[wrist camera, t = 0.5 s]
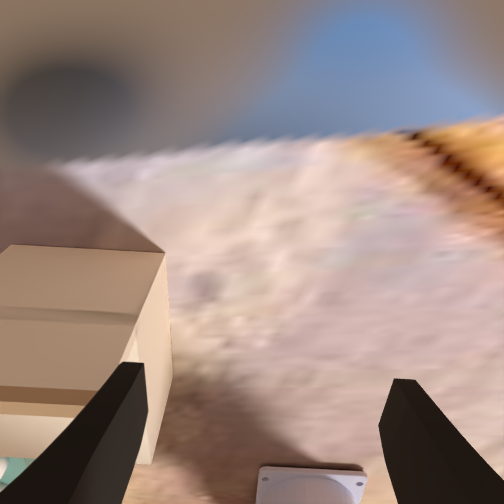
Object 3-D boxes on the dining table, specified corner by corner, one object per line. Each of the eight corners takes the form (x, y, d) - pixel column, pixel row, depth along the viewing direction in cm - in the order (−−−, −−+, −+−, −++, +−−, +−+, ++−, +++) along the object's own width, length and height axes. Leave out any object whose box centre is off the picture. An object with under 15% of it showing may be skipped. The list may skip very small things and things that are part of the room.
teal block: (66, 467, 31) (40, 527, 27) (8, 464, 31) (-26, 523, 27) (42, 390, 26) (7, 448, 23) (-26, 387, 26) (-72, 445, 23)
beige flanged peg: (173, 376, 25) (129, 550, 17) (46, 369, 25) (-62, 541, 17) (165, 252, 21) (101, 406, 12) (10, 244, 21) (-160, 393, 12)
